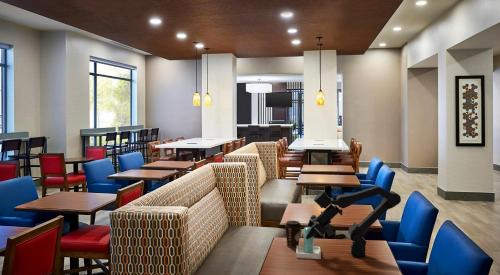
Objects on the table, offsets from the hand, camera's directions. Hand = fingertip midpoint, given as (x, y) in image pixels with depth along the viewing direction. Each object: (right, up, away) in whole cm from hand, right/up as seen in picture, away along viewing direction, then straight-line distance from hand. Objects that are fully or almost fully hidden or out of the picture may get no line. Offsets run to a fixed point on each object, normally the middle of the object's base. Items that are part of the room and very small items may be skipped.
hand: (305, 236), depth 203 cm
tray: (+1, -9, 0) cm, 9 cm away
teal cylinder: (+1, -8, 0) cm, 8 cm away
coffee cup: (-5, -9, +13) cm, 17 cm away
